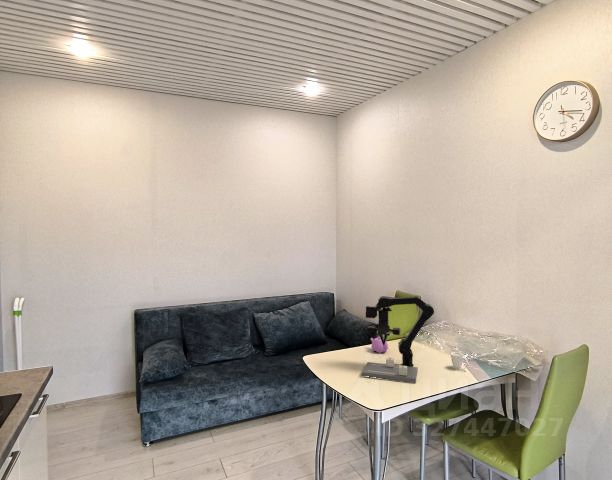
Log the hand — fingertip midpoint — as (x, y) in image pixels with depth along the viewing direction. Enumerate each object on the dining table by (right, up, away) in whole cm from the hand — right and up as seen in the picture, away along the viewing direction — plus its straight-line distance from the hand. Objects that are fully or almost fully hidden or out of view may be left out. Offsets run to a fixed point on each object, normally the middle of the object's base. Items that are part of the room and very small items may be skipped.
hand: (383, 344), depth 214 cm
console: (+1, -12, -13) cm, 18 cm away
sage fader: (+6, -10, -20) cm, 23 cm away
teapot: (+2, -12, +25) cm, 28 cm away
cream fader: (+2, -9, -8) cm, 13 cm away
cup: (+41, -12, -7) cm, 43 cm away
